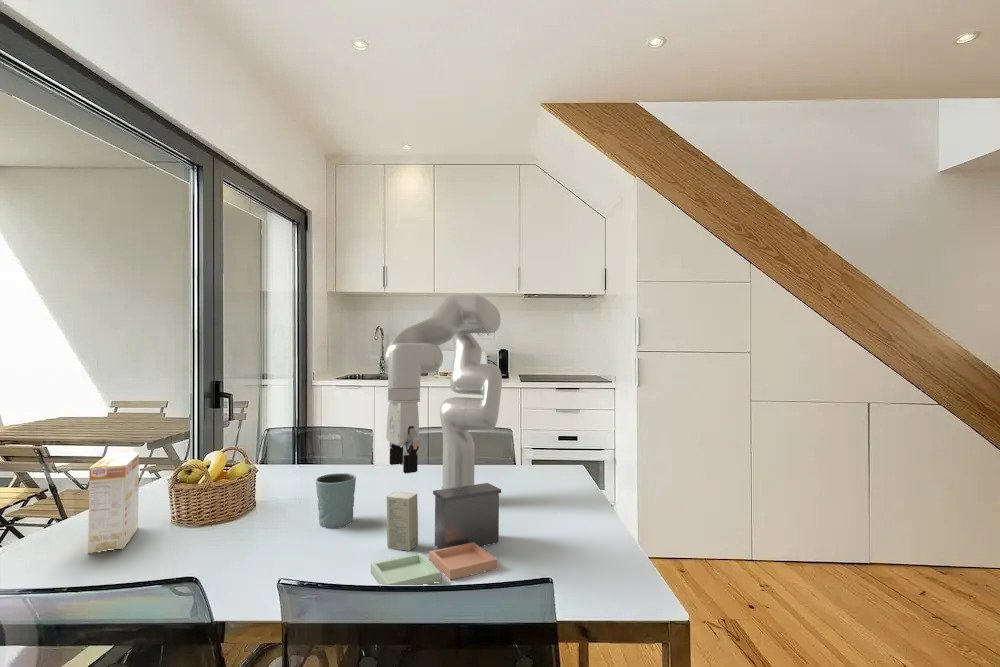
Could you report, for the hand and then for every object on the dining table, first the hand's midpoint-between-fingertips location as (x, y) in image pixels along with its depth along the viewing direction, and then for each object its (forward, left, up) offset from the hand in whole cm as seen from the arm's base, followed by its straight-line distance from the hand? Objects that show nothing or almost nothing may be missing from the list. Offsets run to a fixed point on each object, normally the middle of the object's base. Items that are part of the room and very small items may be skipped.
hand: (403, 468), depth 123 cm
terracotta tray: (+16, +8, -18) cm, 26 cm away
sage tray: (+16, -5, -18) cm, 25 cm away
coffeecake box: (-37, -59, -19) cm, 72 cm away
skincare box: (0, 0, -19) cm, 19 cm away
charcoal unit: (+6, +14, -18) cm, 24 cm away
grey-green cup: (-24, -10, -19) cm, 32 cm away
